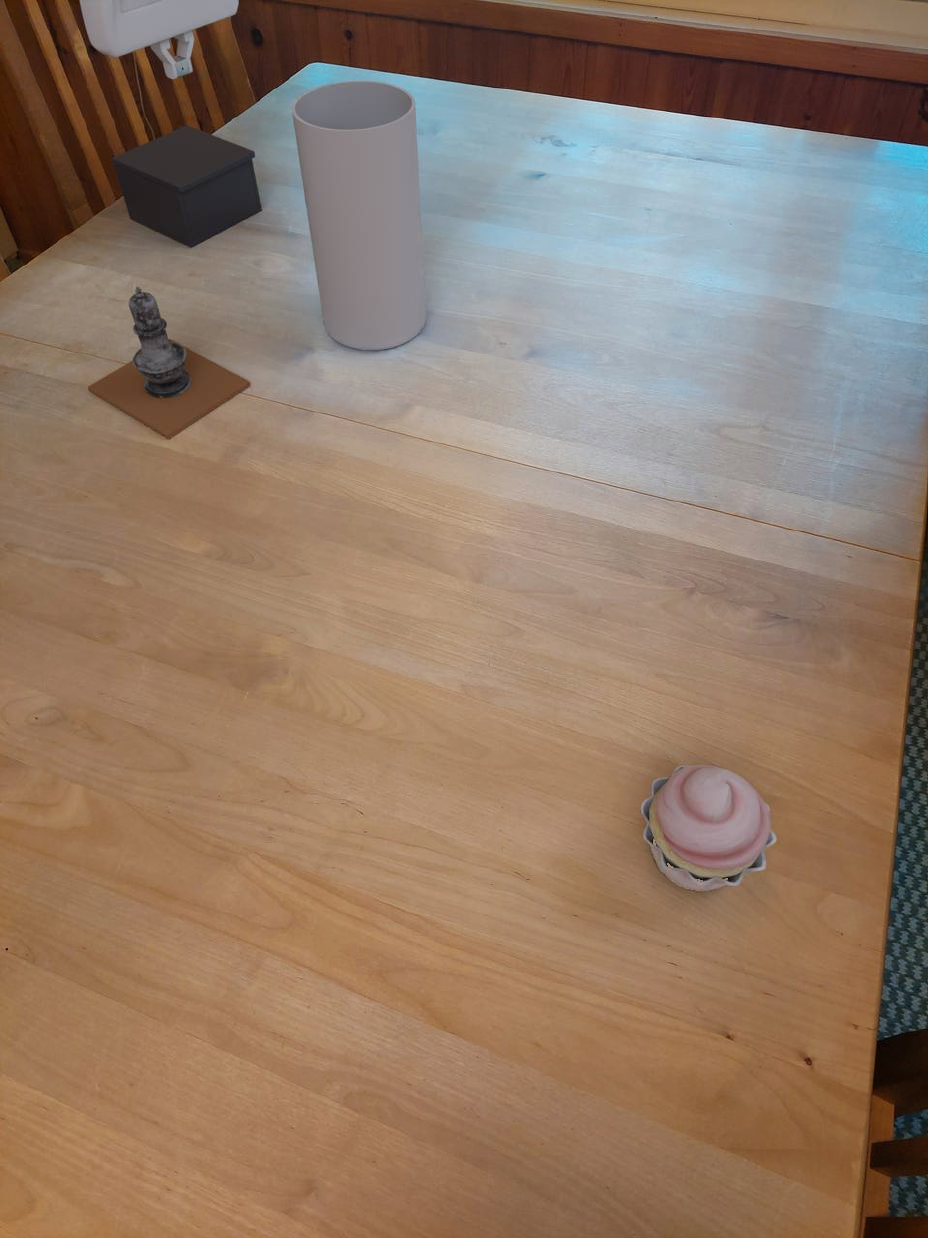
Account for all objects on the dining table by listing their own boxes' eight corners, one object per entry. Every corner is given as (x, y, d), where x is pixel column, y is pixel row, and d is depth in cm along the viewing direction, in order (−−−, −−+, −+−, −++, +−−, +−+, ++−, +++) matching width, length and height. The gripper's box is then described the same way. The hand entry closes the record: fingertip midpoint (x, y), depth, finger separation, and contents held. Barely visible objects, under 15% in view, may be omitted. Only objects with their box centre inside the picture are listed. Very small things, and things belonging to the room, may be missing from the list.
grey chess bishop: (132, 395, 101) (97, 298, 92) (156, 365, 104) (124, 268, 95) (180, 402, 100) (150, 305, 91) (202, 371, 104) (175, 275, 94)
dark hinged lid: (255, 156, 123) (254, 150, 122) (180, 193, 116) (179, 187, 116) (188, 130, 128) (186, 124, 128) (113, 164, 122) (111, 158, 121)
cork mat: (88, 391, 103) (87, 386, 102) (170, 342, 108) (169, 338, 108) (168, 439, 97) (167, 435, 96) (250, 385, 103) (249, 381, 102)
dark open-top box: (262, 210, 129) (251, 155, 123) (191, 247, 123) (176, 192, 117) (201, 184, 134) (188, 130, 129) (130, 219, 128) (113, 164, 122)
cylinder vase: (438, 342, 108) (428, 121, 88) (335, 361, 106) (303, 138, 86) (412, 289, 115) (398, 74, 96) (316, 305, 113) (282, 88, 94)
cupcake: (755, 929, 62) (794, 870, 55) (621, 895, 64) (641, 832, 56) (764, 812, 68) (801, 742, 60) (641, 783, 70) (661, 711, 62)
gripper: (201, -85, 108) (225, 45, 119) (57, -44, 98) (97, 94, 108) (237, -76, 105) (258, 56, 116) (93, -33, 95) (131, 107, 106)
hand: (179, 74), depth 112 cm, fingers closed
